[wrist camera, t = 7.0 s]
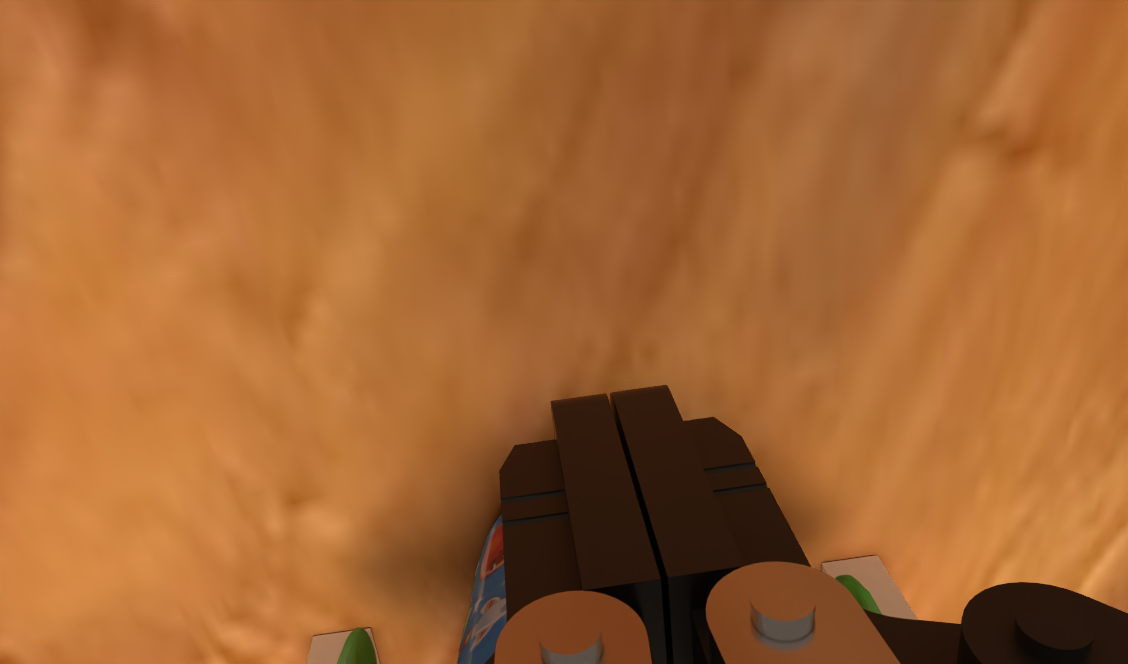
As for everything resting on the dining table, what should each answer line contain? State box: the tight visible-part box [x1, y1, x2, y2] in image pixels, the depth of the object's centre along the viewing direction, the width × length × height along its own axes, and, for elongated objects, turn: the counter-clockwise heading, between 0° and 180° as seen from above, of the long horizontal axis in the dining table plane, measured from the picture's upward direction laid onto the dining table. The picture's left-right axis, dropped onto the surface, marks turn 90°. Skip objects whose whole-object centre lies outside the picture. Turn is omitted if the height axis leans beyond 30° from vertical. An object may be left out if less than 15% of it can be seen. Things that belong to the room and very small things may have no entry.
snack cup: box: [337, 514, 882, 664], centre depth 25 cm, size 16×10×10 cm
